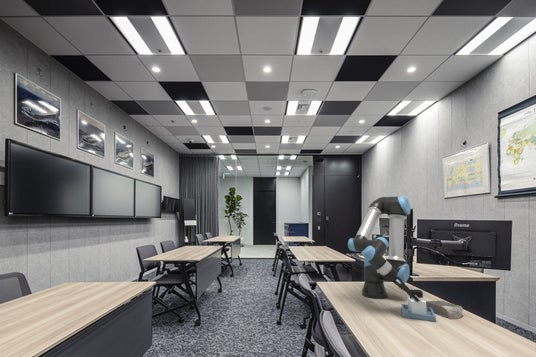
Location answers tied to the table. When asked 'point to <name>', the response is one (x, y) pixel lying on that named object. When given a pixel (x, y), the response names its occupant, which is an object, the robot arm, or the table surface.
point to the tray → (428, 317)
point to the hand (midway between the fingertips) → (418, 301)
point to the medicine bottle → (413, 306)
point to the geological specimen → (445, 309)
